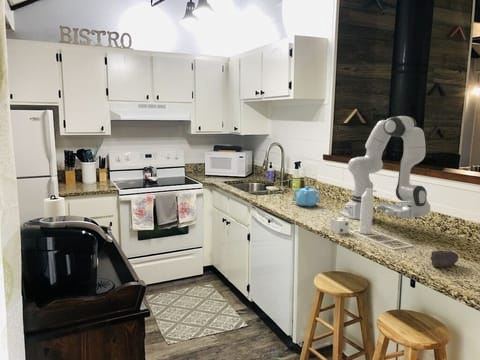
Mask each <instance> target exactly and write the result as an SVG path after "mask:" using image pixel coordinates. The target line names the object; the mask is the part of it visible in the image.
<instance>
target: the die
mask: <svg viewBox="0 0 480 360" xmlns="http://www.w3.org/2000/svg"><path fill="white" fill-rule="evenodd" d="M349 231H350V219H346V218H344V217H342V216H341V217H331V218H330V232H334V233H335V234H337V235H340V234H341V233H342V234H349V233H350V232H349Z"/></svg>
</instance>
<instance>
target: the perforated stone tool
mask: <svg viewBox="0 0 480 360" xmlns="http://www.w3.org/2000/svg"><path fill="white" fill-rule="evenodd" d="M430 260H431V265H432V267H435V268H445V267H446V268H447V267H449V266H453V265H455V264H456V263H457V262H458V260H459V254H458V253H456V252H454V251H451V250H434V251H431V255H430Z"/></svg>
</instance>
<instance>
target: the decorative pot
mask: <svg viewBox="0 0 480 360" xmlns="http://www.w3.org/2000/svg"><path fill="white" fill-rule="evenodd" d="M297 191H298V192H297ZM296 192H297V194H296ZM317 194H318V196H317ZM293 195H294V197H293V198H292V200H293V201H294V202H296V204H297V205H298V206H299V207H303V206H304V207H308V208H312V207H313V206H315V205H317V204H318V203H321V199H320V196H321V192H320V191H319V190H315V189H313V188H310V186H304V187H302V188H299V189H298V188H296V189H295V190H294V191H293Z"/></svg>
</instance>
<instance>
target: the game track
mask: <svg viewBox="0 0 480 360" xmlns="http://www.w3.org/2000/svg"><path fill="white" fill-rule="evenodd" d="M357 232H358V233H357ZM371 232H373V233H376V234H367V235H363V234H362V235H361V233H360V234H359V229H355V230H349V233H352V234H354V235H356V236H359V237H360V236H361V237H360V238H363V239H366V240H369V241H370V242H372V243H376V244H377V245H380V246H383V247H385V248H388V249H390V250H393V251H395V250H400V249H406V248H412V247H415V245H414V244H411V243H408V242H406V241H403V240H401V239H398V238H395V237H392V236H390V235H387V234H385V233H381V232H380V231H379V232H378V231H376V230H373V229H371ZM379 236H383V237H386V238H389V239H388V240H381V241H376V240H374V239H373V238H371V237H379ZM395 241H396V242H399V243H403V244H405V245H403V246H396V247H391V246H389V245H386V244H385V243H389V242H390V243H391V242H395Z"/></svg>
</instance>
